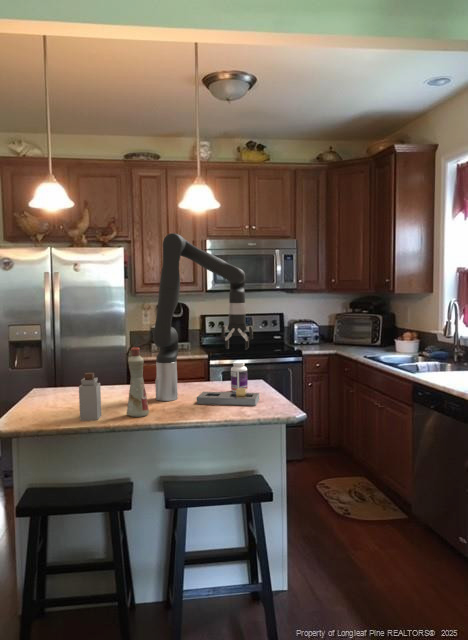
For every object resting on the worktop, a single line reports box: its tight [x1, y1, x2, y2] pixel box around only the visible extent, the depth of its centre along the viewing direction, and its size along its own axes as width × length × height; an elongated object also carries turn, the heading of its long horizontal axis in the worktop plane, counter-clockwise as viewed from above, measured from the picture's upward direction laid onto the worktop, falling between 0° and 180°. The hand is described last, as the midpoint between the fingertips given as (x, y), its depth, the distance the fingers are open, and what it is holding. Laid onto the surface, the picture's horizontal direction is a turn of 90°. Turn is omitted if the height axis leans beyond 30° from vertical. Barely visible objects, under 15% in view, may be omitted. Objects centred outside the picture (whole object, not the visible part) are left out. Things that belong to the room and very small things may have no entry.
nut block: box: [236, 388, 248, 397], centre depth 226 cm, size 4×4×6 cm
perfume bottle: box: [78, 372, 102, 421], centre depth 203 cm, size 7×7×18 cm
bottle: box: [126, 346, 150, 418], centre depth 206 cm, size 9×9×28 cm
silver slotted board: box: [196, 391, 260, 407], centre depth 228 cm, size 26×12×3 cm, turn 79°
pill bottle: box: [230, 360, 249, 392], centre depth 249 cm, size 8×8×14 cm
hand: (237, 349), depth 230 cm, fingers open, 8 cm apart
